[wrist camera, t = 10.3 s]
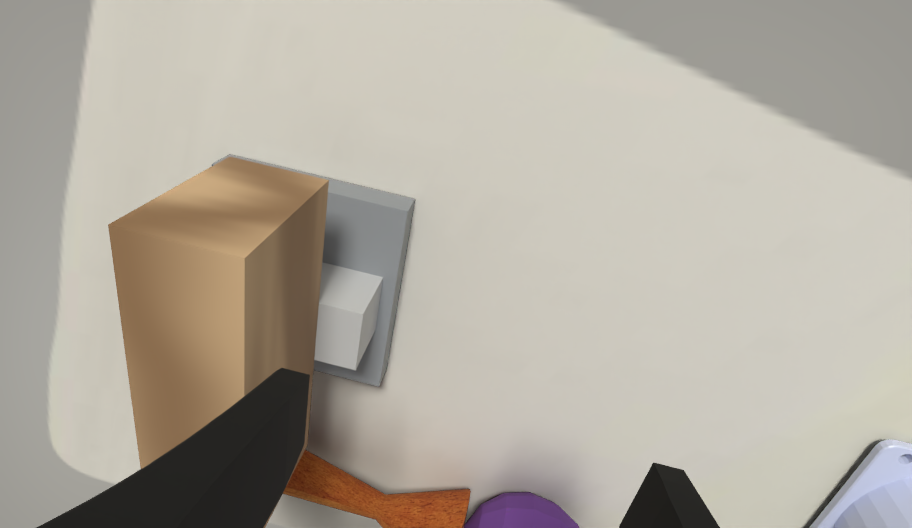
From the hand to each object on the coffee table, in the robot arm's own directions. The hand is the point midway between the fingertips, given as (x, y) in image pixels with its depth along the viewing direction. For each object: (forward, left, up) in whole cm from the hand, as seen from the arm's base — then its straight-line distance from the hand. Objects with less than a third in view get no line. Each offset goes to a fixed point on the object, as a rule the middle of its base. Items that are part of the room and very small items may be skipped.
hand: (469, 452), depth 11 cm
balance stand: (+7, +3, -10) cm, 12 cm away
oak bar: (+7, +3, -6) cm, 10 cm away
